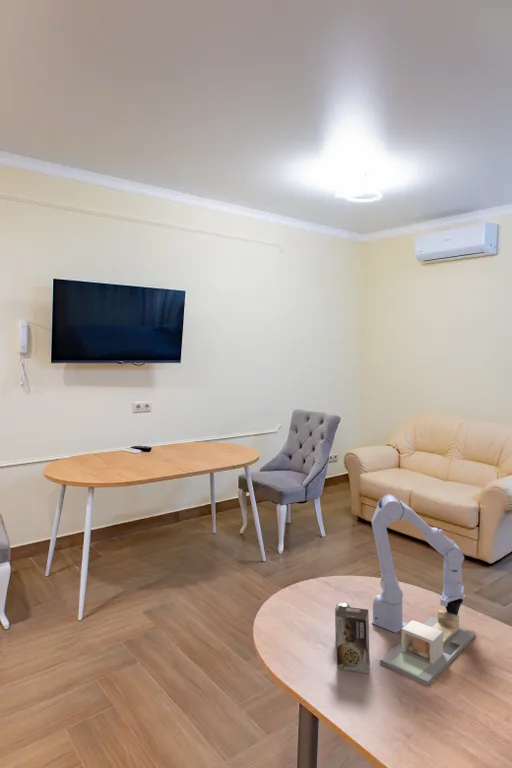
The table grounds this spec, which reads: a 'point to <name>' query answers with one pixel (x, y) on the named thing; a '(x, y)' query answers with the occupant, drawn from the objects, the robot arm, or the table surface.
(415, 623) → the tunnel
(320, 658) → the table surface
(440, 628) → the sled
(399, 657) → the plate
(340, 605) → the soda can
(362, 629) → the cookie box
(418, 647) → the block
